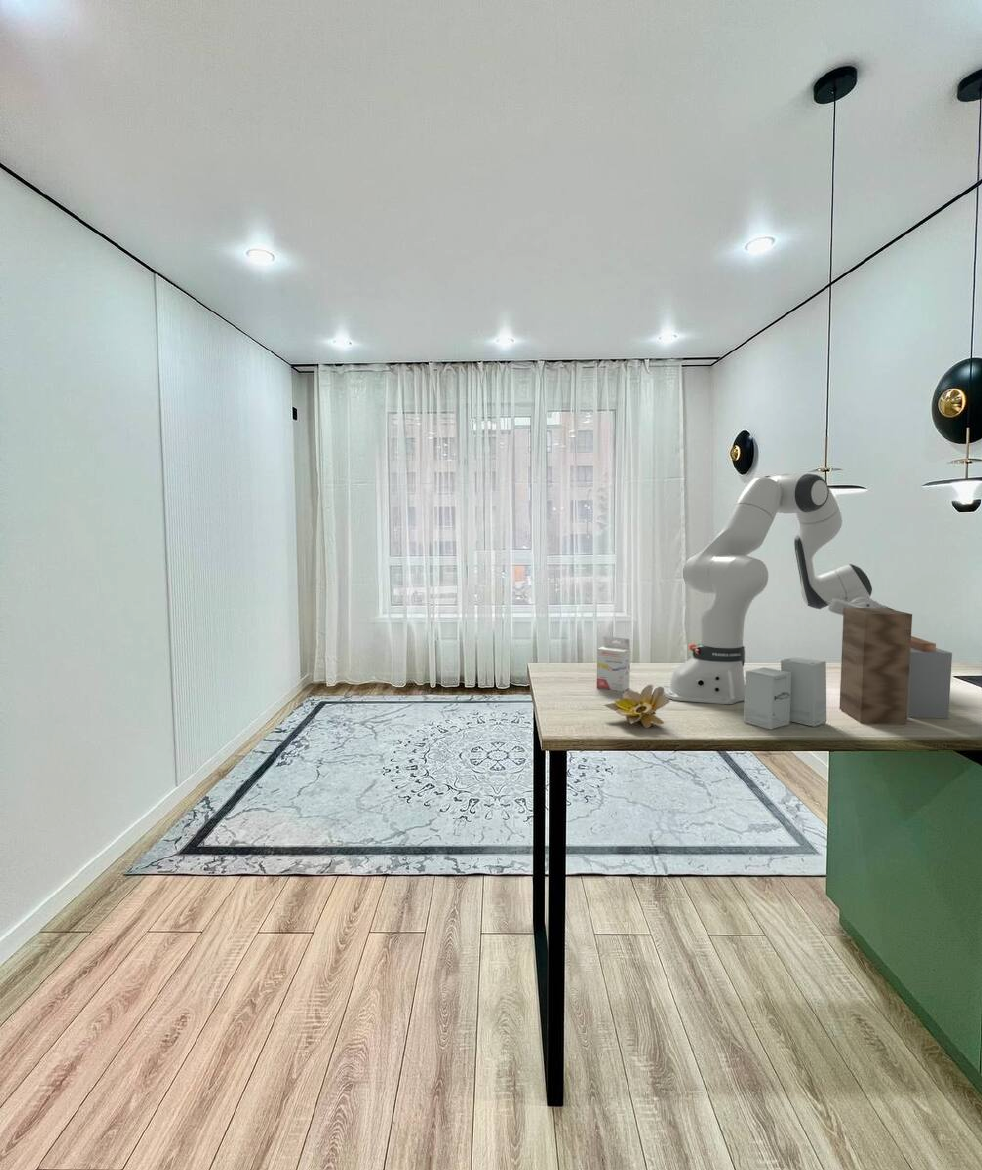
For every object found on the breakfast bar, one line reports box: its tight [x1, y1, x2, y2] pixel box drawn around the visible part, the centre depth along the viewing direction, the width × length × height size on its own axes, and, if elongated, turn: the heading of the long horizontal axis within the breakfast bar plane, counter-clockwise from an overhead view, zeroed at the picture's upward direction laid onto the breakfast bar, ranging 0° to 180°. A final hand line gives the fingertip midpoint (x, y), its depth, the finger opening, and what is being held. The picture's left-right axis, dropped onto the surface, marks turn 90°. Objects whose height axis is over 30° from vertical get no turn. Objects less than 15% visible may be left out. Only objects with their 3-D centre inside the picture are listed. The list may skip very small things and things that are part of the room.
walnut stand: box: [838, 607, 913, 726], centre depth 151 cm, size 10×12×26 cm
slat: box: [910, 635, 937, 652], centre depth 160 cm, size 3×20×2 cm, turn 172°
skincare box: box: [780, 656, 827, 728], centre depth 148 cm, size 8×6×15 cm
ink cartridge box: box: [596, 635, 631, 692], centre depth 181 cm, size 9×5×15 cm, turn 58°
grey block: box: [907, 647, 953, 719], centre depth 158 cm, size 9×16×16 cm, turn 172°
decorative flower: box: [603, 684, 670, 729], centre depth 149 cm, size 15×11×10 cm
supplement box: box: [743, 667, 791, 731], centre depth 146 cm, size 7×7×13 cm
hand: (872, 619), depth 173 cm, fingers open, 8 cm apart
